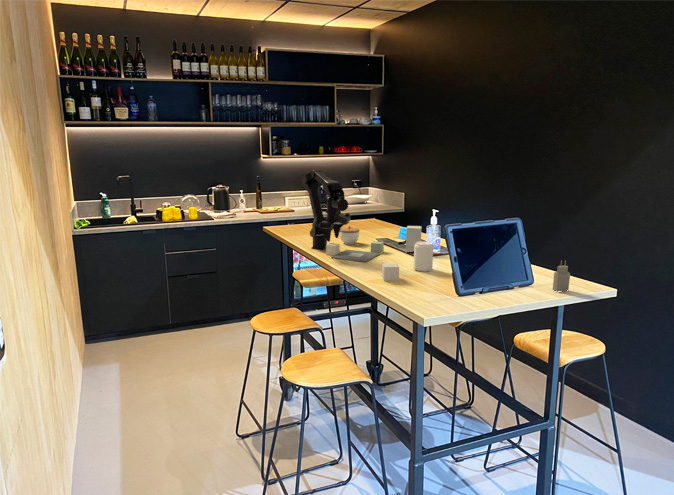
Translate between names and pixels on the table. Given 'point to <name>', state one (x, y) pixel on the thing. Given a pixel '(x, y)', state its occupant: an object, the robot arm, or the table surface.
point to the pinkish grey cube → (390, 272)
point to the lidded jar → (349, 235)
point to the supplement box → (412, 237)
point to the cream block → (332, 249)
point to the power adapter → (561, 278)
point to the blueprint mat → (356, 255)
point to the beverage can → (423, 256)
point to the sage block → (377, 247)
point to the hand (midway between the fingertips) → (332, 239)
